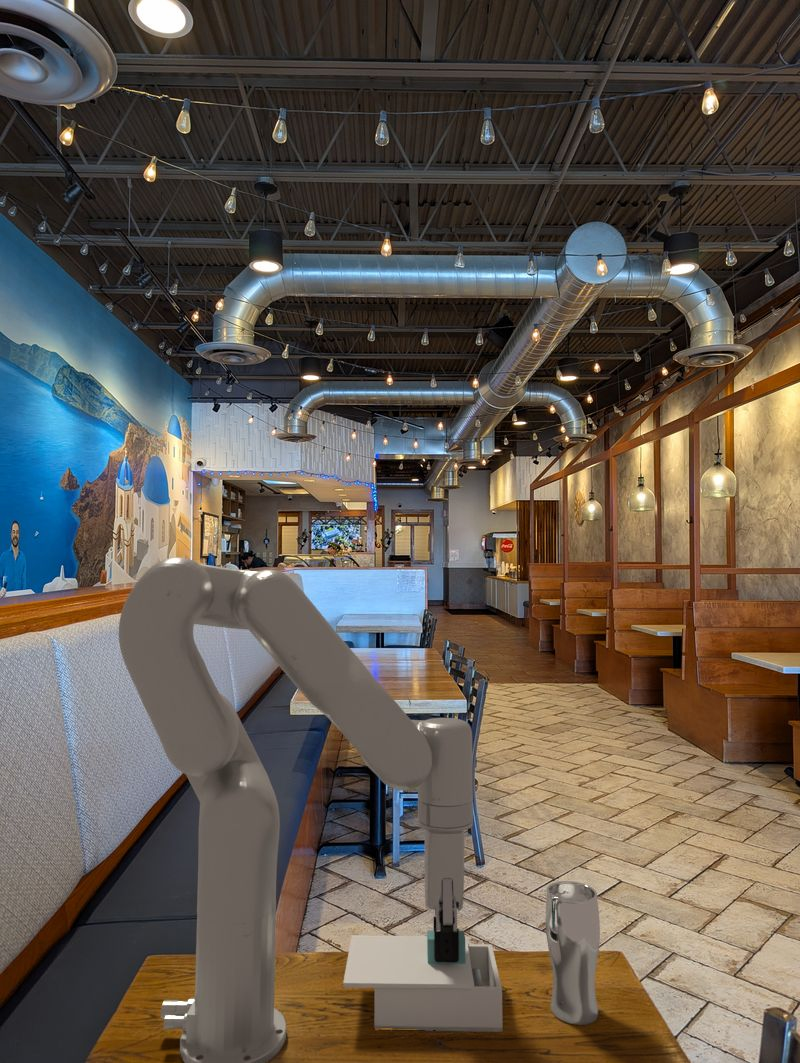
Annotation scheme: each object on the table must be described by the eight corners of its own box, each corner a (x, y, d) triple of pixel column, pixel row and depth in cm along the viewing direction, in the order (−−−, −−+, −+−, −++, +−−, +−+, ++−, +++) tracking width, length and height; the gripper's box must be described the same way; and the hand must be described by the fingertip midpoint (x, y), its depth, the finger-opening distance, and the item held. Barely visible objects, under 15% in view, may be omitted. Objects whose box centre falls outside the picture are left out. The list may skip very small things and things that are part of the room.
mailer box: (374, 1030, 84) (374, 987, 85) (378, 980, 95) (378, 943, 96) (502, 1031, 84) (502, 989, 84) (492, 981, 95) (491, 944, 95)
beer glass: (610, 1026, 85) (606, 902, 86) (555, 1028, 85) (553, 903, 86) (591, 994, 92) (588, 879, 93) (541, 996, 92) (539, 880, 93)
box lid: (343, 987, 84) (343, 957, 85) (351, 938, 96) (351, 913, 97) (474, 988, 84) (473, 959, 84) (466, 940, 96) (466, 914, 96)
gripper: (417, 795, 100) (417, 925, 98) (418, 832, 84) (418, 989, 82) (468, 795, 100) (469, 925, 98) (478, 833, 84) (479, 990, 82)
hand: (446, 953), depth 90 cm, fingers closed on box lid, 2 cm apart
